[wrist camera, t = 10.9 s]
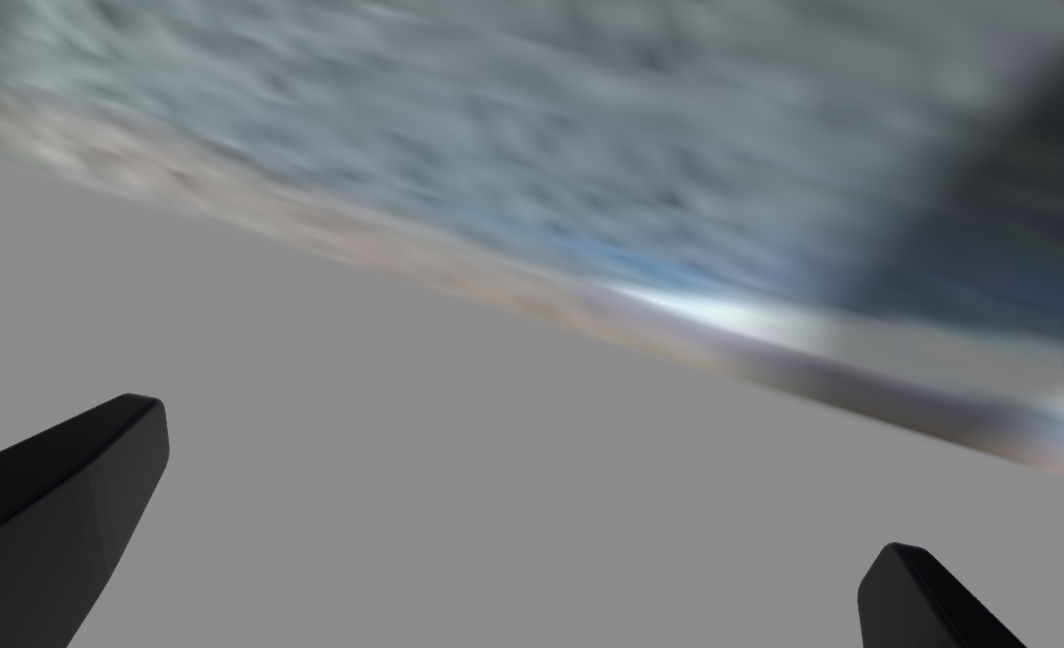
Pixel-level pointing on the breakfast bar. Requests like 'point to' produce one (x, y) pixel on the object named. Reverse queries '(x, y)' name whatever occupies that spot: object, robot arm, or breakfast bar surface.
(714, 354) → the breakfast bar surface
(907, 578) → the robot arm
